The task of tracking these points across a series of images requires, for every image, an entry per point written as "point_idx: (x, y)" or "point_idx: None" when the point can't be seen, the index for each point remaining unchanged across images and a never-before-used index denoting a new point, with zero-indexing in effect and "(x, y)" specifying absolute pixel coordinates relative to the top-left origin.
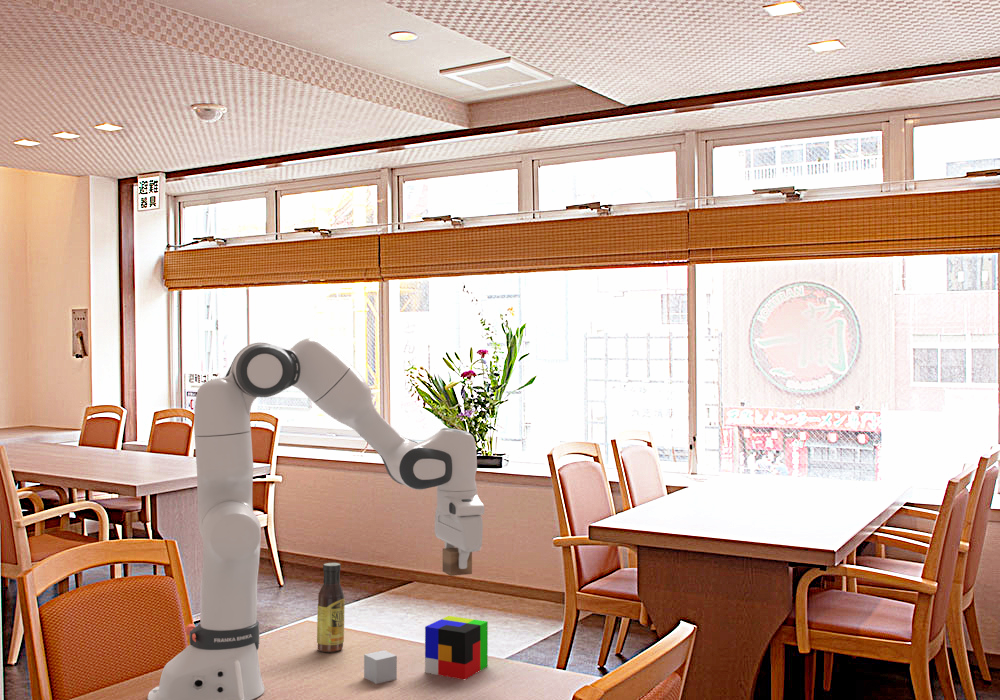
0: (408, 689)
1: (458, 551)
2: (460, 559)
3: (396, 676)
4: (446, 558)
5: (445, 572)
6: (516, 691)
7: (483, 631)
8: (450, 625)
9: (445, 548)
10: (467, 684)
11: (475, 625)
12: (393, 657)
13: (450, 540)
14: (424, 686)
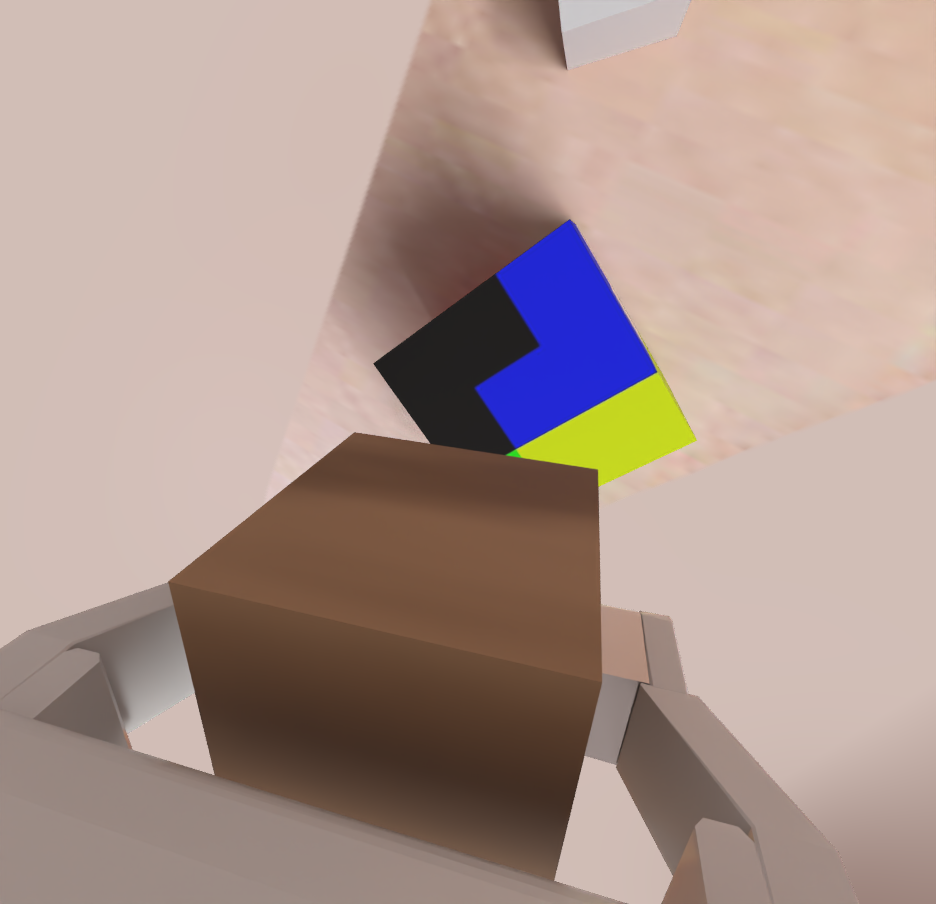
0: (428, 77)
1: (89, 670)
2: (154, 592)
3: (567, 66)
4: (413, 539)
5: (500, 457)
6: (293, 411)
7: None
8: (518, 360)
9: (578, 722)
10: (393, 313)
11: None
12: (560, 10)
13: (135, 889)
14: (433, 157)
